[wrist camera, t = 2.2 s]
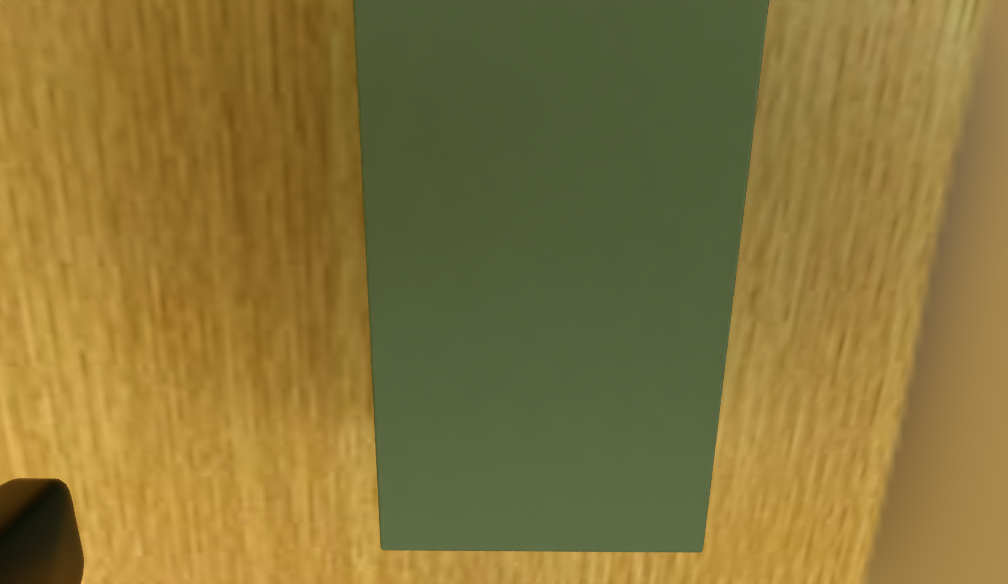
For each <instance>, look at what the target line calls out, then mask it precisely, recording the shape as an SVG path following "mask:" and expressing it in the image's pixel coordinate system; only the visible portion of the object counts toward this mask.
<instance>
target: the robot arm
mask: <svg viewBox="0 0 1008 584" xmlns="http://www.w3.org/2000/svg"><path fill="white" fill-rule="evenodd" d="M83 568H84V557H83V550H82V546H81V541H80V536H79V531H78V526H77V521H76V517H75V512H74V507H73V502H72V497H71V494H70V491H69V489H68V487H67V485H66V484H65V483H64V482H62V481H61V480H59V479H37V478H18V479H13V480H10V481H8V482H6V483H4V484H2V485H0V584H81V581H82V576H83Z"/></svg>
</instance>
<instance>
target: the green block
mask: <svg viewBox="0 0 1008 584" xmlns="http://www.w3.org/2000/svg"><path fill="white" fill-rule="evenodd" d="M768 6H769V0H353V7H354V27H355V47H356V67H357V87H358V106H359V126H360V146H361V166H362V186H363V206H364V226H365V246H366V265H367V285H368V305H369V325H370V345H371V365H372V385H373V405H374V424H375V444H376V464H377V484H378V504H379V524H380V544H381V548H382V550H427V551H568V552H702V550H703V545H704V537H705V528H706V520H707V512H708V504H709V495H710V487H711V479H712V470H713V462H714V454H715V445H716V437H717V429H718V421H719V412H720V404H721V396H722V387H723V379H724V371H725V363H726V354H727V346H728V338H729V329H730V321H731V313H732V304H733V296H734V288H735V280H736V271H737V263H738V255H739V246H740V238H741V230H742V221H743V213H744V205H745V197H746V188H747V180H748V172H749V163H750V155H751V147H752V139H753V130H754V122H755V114H756V105H757V97H758V89H759V80H760V72H761V64H762V56H763V47H764V39H765V31H766V22H767V14H768Z"/></svg>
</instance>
